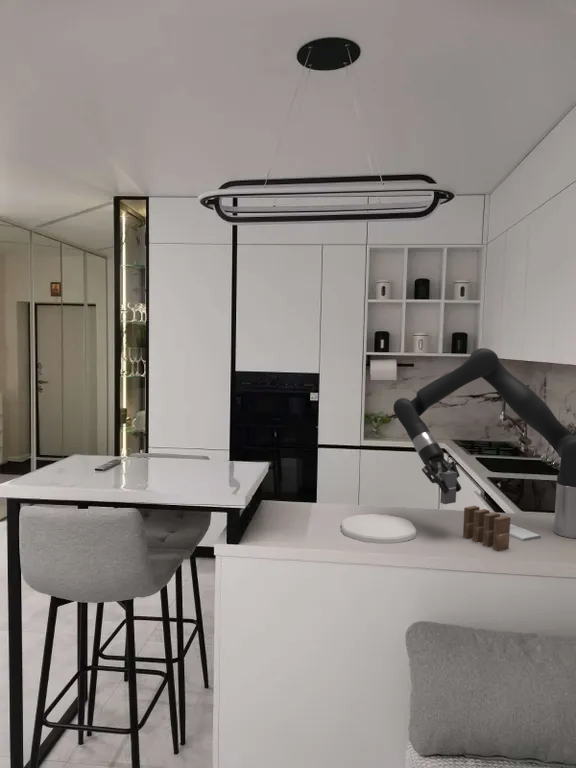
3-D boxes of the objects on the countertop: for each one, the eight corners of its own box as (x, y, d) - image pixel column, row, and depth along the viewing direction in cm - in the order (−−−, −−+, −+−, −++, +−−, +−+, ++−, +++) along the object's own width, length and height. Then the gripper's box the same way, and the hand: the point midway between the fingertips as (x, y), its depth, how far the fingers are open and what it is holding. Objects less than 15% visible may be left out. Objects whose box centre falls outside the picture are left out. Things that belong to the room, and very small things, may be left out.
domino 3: (472, 541, 184) (474, 510, 183) (483, 538, 187) (484, 508, 186) (477, 543, 182) (479, 512, 182) (488, 540, 185) (489, 510, 184)
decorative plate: (408, 509, 204) (422, 533, 179) (408, 520, 205) (422, 546, 180) (339, 507, 205) (343, 531, 180) (339, 518, 205) (343, 543, 181)
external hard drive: (523, 543, 185) (494, 530, 196) (541, 539, 189) (512, 527, 200) (523, 538, 185) (494, 526, 196) (541, 535, 188) (512, 523, 200)
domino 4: (482, 545, 181) (484, 514, 180) (493, 542, 183) (494, 512, 182) (487, 547, 179) (489, 516, 178) (498, 544, 182) (500, 514, 181)
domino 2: (462, 537, 188) (464, 507, 187) (473, 534, 190) (474, 505, 189) (467, 539, 186) (469, 509, 185) (478, 536, 188) (479, 507, 188)
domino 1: (440, 502, 186) (441, 472, 185) (450, 500, 188) (452, 471, 187) (445, 504, 184) (446, 474, 183) (455, 502, 187) (457, 472, 186)
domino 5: (492, 549, 177) (494, 517, 177) (503, 546, 180) (504, 515, 179) (498, 551, 176) (499, 519, 175) (508, 548, 178) (510, 517, 177)
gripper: (418, 443, 187) (444, 488, 178) (448, 440, 195) (475, 483, 185) (406, 456, 192) (431, 500, 183) (436, 452, 200) (461, 494, 190)
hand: (453, 491), depth 184 cm, fingers closed on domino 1, 5 cm apart
